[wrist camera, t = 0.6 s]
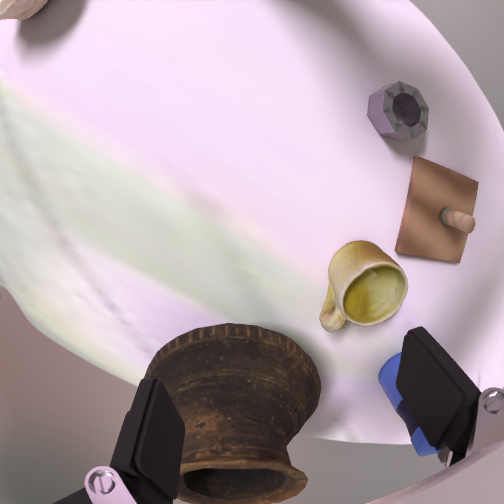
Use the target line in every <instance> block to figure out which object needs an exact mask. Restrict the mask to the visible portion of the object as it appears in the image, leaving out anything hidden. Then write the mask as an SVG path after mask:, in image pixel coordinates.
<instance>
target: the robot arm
mask: <svg viewBox="0 0 504 504" xmlns="http://www.w3.org/2000/svg"><path fill="white" fill-rule="evenodd" d="M396 388H397V390H398V392H399V393H400V395H401V397H402V398H403V400H404V402H405V403H406V405H407V407H408V408H409V410H410V412H411V414H412V415H413V417H414V419H415V420H416V422H417V424H418V426H419V427H420V429H421V431H422V432H423V434H424V436H425V438H426V440H427V441H428V443H429V445H430V446H431V447H435V449H436V451H439V450H440V449H442V448H444V447H446V446H447V447H448V448H449V450H450V453H449V457H448V461H447V464H446V468H445V470H442V471H441V472H439V473H437V474H435V475H433V476H431V477H429V478H427V479H425V480H423V481H421V482H418V483H416V484H414V485H412V486H409V487H407V488H405V489H403V490H400V491H398V492H395V493H393V494H390V495H388V496H385V497H382V498H380V499H377V500H374V501H371V502H368V503H365V504H504V390H502V389H500V388H496V387H494V388H488V389H486V390H485V391H483V392H482V393H481V392H480V390H479V389H478V388H477V386H476V385H475V384H474V383H473V382H472V380H471V379H470V378H469V377H468V376H467V375H466V373H465V372H464V371H463V370H462V369H461V368H460V367H459V365H458V364H457V363H456V362H455V361H454V360H453V359H452V358H451V356H450V355H449V354H448V353H447V352H446V351H445V350H444V349H443V348H442V347H441V345H440V344H439V343H438V342H437V341H436V340H435V339H434V338H433V337H432V336H431V335H430V334H429V333H428V332H427V330H426V329H425V328H424V327H422V326H420V327H417V328H414V329H411V330H409V331H408V332H407V335H405V336H404V341H403V347H402V353H401V358H400V363H399V368H398V373H397V378H396ZM184 437H185V424H184V422H183V420H182V418H181V416H180V414H179V413H178V411H177V409H176V407H175V405H174V403H173V402H172V400H171V398H170V396H169V394H168V392H167V390H166V388H165V386H164V384H163V382H159V381H158V379H156V378H149V379H141V381H140V384H139V386H138V389H137V392H136V395H135V398H134V401H133V404H132V407H131V410H130V411H129V412H127V414H126V416H125V419H124V422H123V425H122V428H121V431H120V434H119V437H118V441H117V444H116V447H115V450H114V454H113V457H112V460H111V463H110V467H107V466H99V467H96V468H94V469H92V470H91V471H90V472H89V473H88V474H87V476H86V479H85V487H84V488H83V489H81V490H79V491H77V492H75V493H73V494H71V495H69V496H67V497H65V498H63V499H61V500H59V501H57V502H55V503H54V504H173V499H176V498H177V495H178V486H179V477H180V468H181V460H182V452H183V444H184Z"/></svg>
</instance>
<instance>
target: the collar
mask: <svg viewBox="0 0 504 504" xmlns="http://www.w3.org/2000/svg"><path fill="white" fill-rule="evenodd" d="M393 100H395V101H397V102H398V104H399V105H400V107H401V109H402V111H403V112H404V113H403V122H402V124H400V123H399V121H398V120H397V118H396V116H395V114H394V113H393V111H392V107H393ZM428 112H429V108H428V107H427V105H426V103H425V101H424V99H423V98H422V96H421V94H420V92H419V91H418V89H416V88H414V87H412V86H409V85H407V84H405V83H403V82H400V81H399V82H396V83H394V84H391V85H389V86H386V87H384V88H382V89H380V90H378V91H377V92H375V93H373V94H372V95H370V96H369V104H368V112H367V116H368V118H369V119H370V121H371V122H372V124H373V126H374V127H375V129H376V130H377V132H378V134H381V135H384V136H387V137H390V138H393V139H395V140H400V139H414V138H415V137H417V136H418V135H420V134H421V133H422V132H424V131H425V130H426V129H427V124H428Z"/></svg>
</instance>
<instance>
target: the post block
mask: <svg viewBox="0 0 504 504" xmlns="http://www.w3.org/2000/svg"><path fill="white" fill-rule="evenodd" d="M478 183H479V182H477V181H475V180H472V179H470V178H468V177H466V176H464V175H462V174H459V173H457V172H455V171H453V170H450V169H448V168H446V167H443V166H441V165H439V164H436V163H434V162H431V161H429V160H426V159H424V158H421V157H414V160H413V167H412V173H411V179H410V184H409V190H408V195H407V200H406V205H405V209H404V214H403V218H402V222H401V227H400V231H399V235H398V239H397V243H396V246H395V251H397V252H398V253H401V254H408V255H414V256H420V257H426V258H432V259H438V260H444V261H450V262H456V263H460V261H461V257H462V254H463V250H464V247H465V243H466V240H467V236H468V233H471V232H472V231H473V229H474V227H475V220H474V218H473V217H472V215H473V210H474V206H475V200H476V195H477V189H478Z"/></svg>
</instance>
